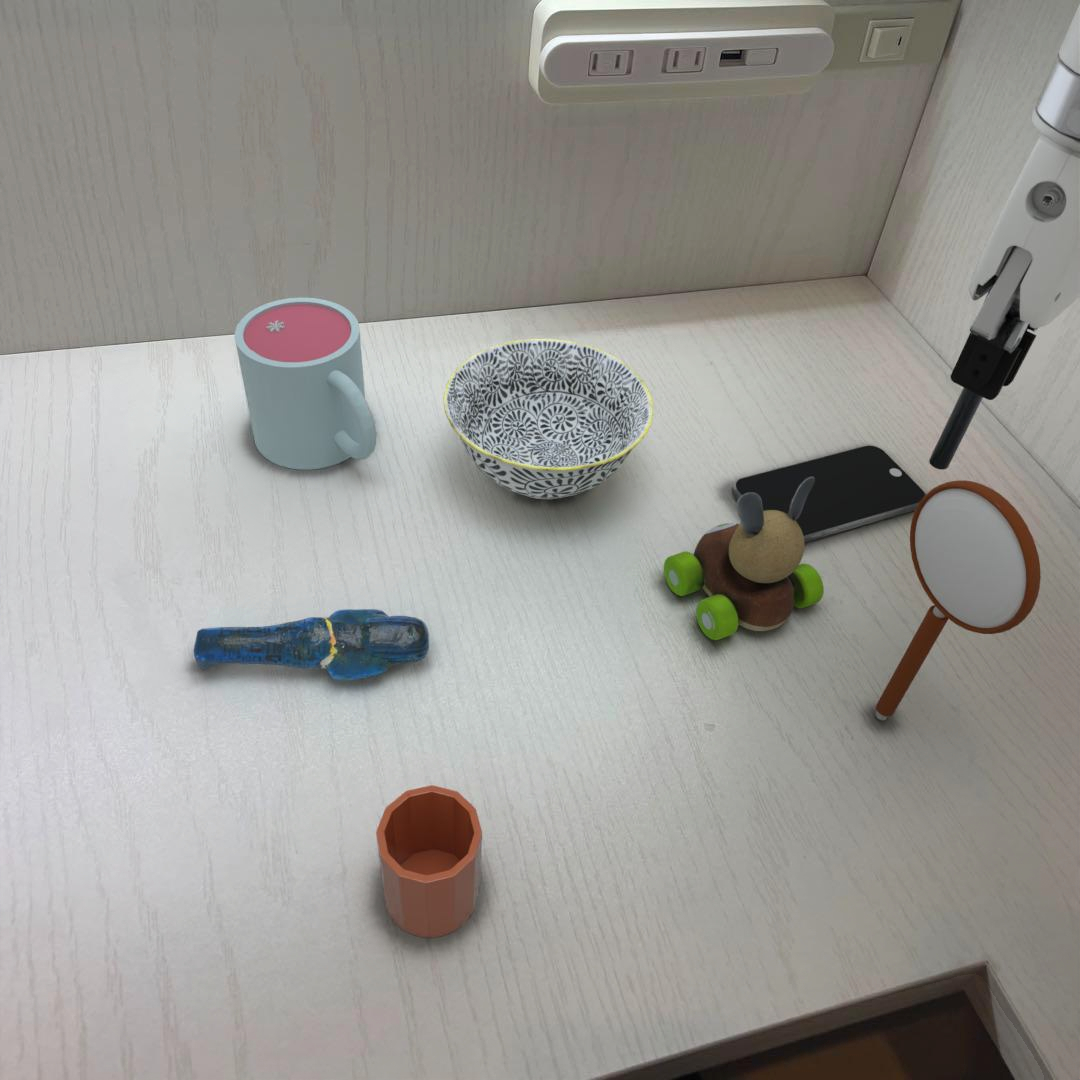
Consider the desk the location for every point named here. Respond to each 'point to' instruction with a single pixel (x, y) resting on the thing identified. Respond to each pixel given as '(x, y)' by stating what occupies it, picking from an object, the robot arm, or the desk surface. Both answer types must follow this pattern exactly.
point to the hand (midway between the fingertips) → (980, 381)
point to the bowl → (547, 415)
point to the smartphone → (837, 490)
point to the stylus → (957, 425)
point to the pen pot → (430, 860)
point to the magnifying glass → (966, 571)
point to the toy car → (749, 569)
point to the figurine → (320, 643)
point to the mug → (305, 383)
